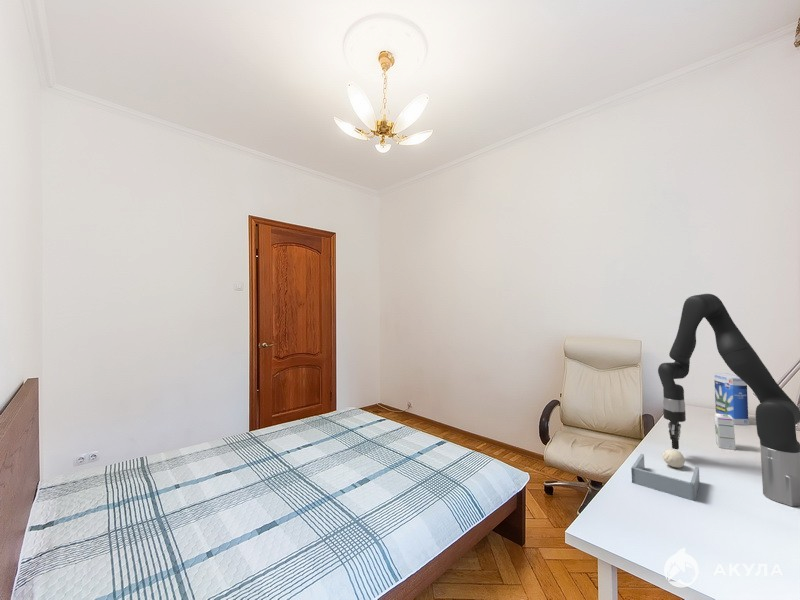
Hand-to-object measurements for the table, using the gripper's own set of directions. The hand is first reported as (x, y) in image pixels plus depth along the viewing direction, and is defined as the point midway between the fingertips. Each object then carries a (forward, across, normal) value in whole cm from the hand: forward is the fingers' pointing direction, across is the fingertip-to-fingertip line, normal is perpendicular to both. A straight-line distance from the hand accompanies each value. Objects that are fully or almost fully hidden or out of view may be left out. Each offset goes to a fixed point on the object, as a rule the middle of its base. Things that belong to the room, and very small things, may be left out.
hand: (675, 448), depth 147 cm
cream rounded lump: (+4, +10, 0) cm, 11 cm away
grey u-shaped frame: (+4, +28, 0) cm, 28 cm away
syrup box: (+4, -30, +15) cm, 34 cm away
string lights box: (+4, -79, +16) cm, 81 cm away
